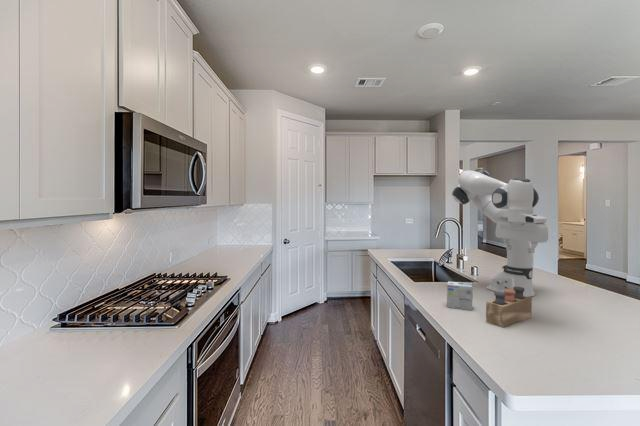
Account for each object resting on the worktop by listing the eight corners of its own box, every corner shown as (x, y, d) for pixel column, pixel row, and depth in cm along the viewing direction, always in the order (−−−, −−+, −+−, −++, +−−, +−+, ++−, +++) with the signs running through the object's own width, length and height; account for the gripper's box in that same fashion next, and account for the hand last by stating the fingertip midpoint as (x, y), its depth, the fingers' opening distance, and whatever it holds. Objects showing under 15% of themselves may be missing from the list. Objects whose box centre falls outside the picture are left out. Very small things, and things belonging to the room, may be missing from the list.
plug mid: (501, 309, 133) (502, 289, 132) (507, 307, 135) (507, 288, 134) (511, 312, 129) (512, 292, 129) (517, 310, 131) (517, 290, 131)
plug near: (491, 312, 129) (492, 292, 129) (497, 310, 131) (498, 291, 131) (501, 315, 126) (502, 295, 125) (507, 313, 128) (508, 293, 127)
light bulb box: (472, 306, 149) (472, 283, 148) (472, 310, 143) (472, 286, 142) (447, 303, 153) (447, 280, 153) (446, 307, 147) (446, 284, 147)
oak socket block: (485, 321, 130) (486, 302, 129) (514, 312, 141) (514, 293, 140) (503, 327, 124) (503, 307, 123) (531, 316, 135) (531, 298, 134)
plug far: (510, 306, 136) (511, 287, 136) (516, 304, 138) (516, 286, 138) (520, 308, 133) (521, 289, 133) (525, 307, 135) (526, 288, 135)
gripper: (492, 216, 140) (491, 248, 140) (540, 219, 121) (540, 255, 122) (502, 216, 143) (501, 247, 143) (551, 218, 124) (550, 254, 124)
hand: (519, 251), depth 132 cm, fingers open, 8 cm apart
